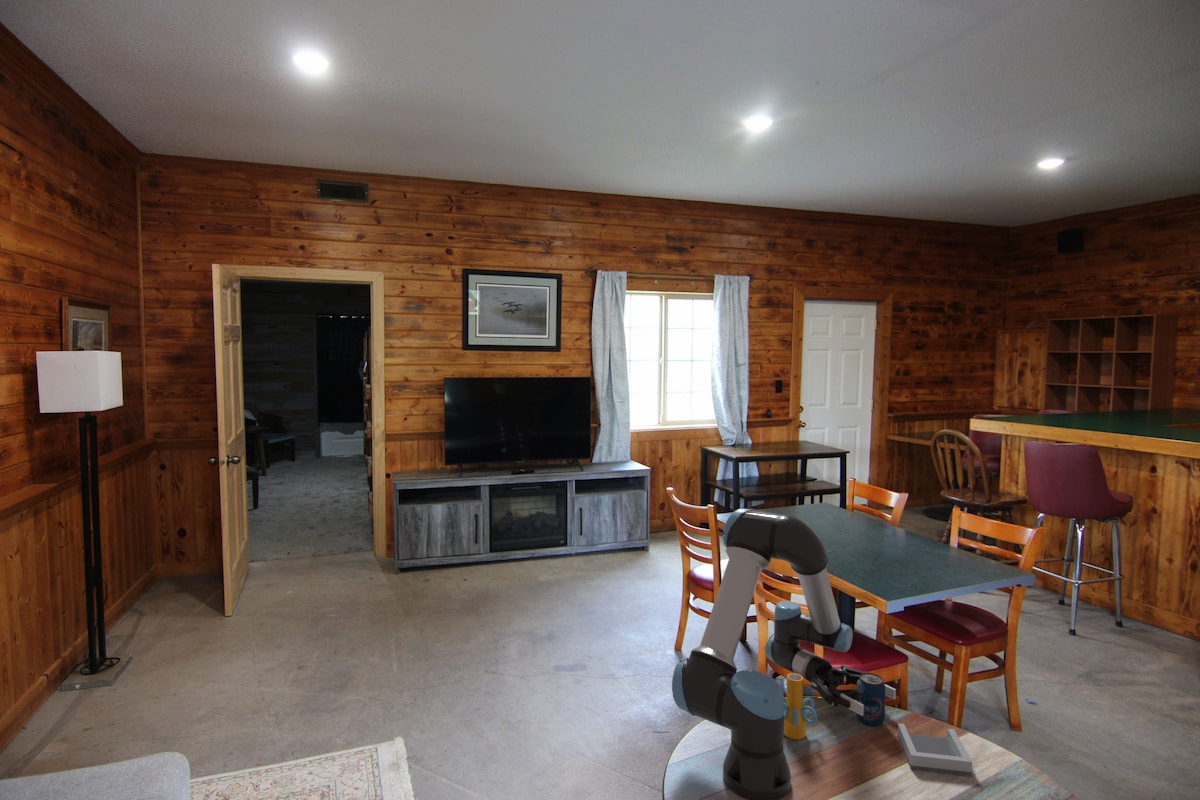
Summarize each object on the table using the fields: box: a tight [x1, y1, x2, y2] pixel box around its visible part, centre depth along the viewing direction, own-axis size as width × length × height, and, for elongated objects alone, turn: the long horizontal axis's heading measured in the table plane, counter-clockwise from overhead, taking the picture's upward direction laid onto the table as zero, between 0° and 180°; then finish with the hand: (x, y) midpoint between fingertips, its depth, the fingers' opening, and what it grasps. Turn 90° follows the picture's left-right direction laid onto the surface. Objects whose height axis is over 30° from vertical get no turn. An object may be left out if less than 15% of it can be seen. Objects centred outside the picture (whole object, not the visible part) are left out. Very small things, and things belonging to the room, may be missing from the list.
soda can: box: [855, 672, 886, 729], centre depth 172 cm, size 7×7×12 cm
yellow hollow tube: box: [784, 672, 818, 740], centre depth 167 cm, size 12×10×15 cm
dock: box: [897, 723, 973, 777], centre depth 158 cm, size 13×13×4 cm
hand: (879, 702), depth 170 cm, fingers open, 13 cm apart
